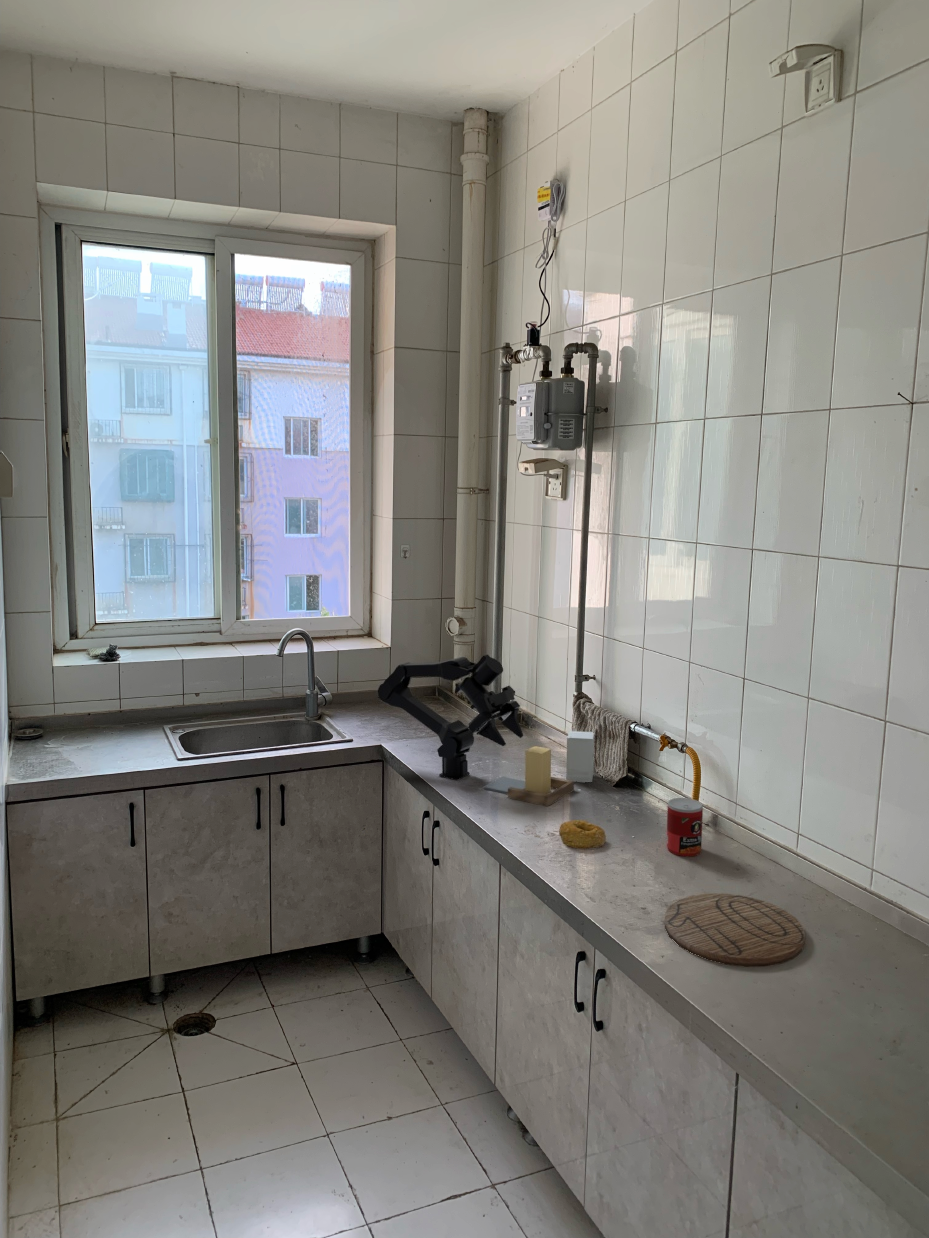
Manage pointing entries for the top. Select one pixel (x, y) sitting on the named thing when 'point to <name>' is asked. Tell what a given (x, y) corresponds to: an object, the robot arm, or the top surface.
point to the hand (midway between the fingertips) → (513, 741)
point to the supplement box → (580, 756)
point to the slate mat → (505, 785)
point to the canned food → (684, 826)
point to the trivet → (734, 929)
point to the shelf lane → (543, 799)
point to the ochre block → (538, 770)
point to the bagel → (581, 834)
